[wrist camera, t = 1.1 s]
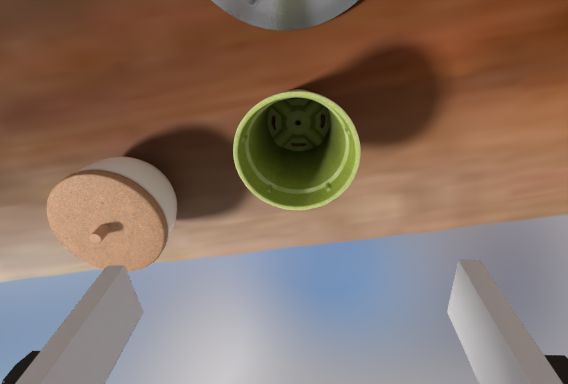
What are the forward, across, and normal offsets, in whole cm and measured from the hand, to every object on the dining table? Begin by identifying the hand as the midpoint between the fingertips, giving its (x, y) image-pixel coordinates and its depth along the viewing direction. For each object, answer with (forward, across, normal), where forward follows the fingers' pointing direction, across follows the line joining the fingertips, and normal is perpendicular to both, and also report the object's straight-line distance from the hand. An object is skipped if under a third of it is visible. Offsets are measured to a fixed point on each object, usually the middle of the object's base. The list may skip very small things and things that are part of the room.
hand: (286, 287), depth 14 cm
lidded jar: (+22, -18, -6) cm, 29 cm away
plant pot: (+22, 0, 0) cm, 22 cm away
